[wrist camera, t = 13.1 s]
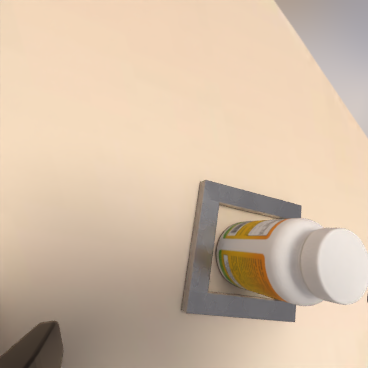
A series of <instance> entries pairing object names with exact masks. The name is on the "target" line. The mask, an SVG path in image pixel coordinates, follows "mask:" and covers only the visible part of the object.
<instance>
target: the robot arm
mask: <svg viewBox="0 0 368 368" xmlns="http://www.w3.org/2000/svg"><path fill="white" fill-rule="evenodd" d="M367 301H368V296H367ZM62 357H63V344H62V339H61V334H60V328H59V324H58V322H57V321H48V322H42V323H39V324H38V325H37V326H35V327H34V328H33V329H32V330H31V331H30V332H29V333H27V334H26V335H25V336H24V337H23V338H22V339H20V340H19V341H18V342H17V343H16V344H15V345H13V346H12V347H11V348H10V349H9V350H8V351H6V352H5V353H4V354H3V355H2V356H1V357H0V368H61V363H62Z"/></svg>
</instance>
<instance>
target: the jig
mask: <svg viewBox="0 0 368 368" xmlns="http://www.w3.org/2000/svg"><path fill="white" fill-rule="evenodd" d="M219 205H223V206H227V207H231V208H235V209H240V210H244V211H248V212H252V213H256V214H261V215H265V216H269V217H273V218H277V219H291V218H301V205H297V204H294V203H290V202H286V201H282V200H279V199H275V198H271V197H267V196H264V195H260V194H256V193H253V192H249V191H245V190H241V189H238V188H234V187H230V186H226V185H223V184H219V183H215V182H212V181H208V180H204V181H202V182H200V187H199V194H198V200H197V207H196V214H195V221H194V227H193V234H192V241H191V247H190V254H189V261H188V268H187V274H186V281H185V288H184V294H183V301H182V308H181V310H183V311H184V312H186V313H192V314H204V315H216V316H228V317H240V318H252V319H264V320H276V321H287V322H295V312H296V305H295V304H291V303H287V302H284V301H281V300H278V299H270V298H261V297H252V296H244V295H235V294H227V293H218V292H209V291H208V287H209V279H210V272H211V264H212V256H213V248H214V241H215V233H216V225H217V217H218V210H219Z"/></svg>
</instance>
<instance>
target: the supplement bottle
mask: <svg viewBox="0 0 368 368" xmlns="http://www.w3.org/2000/svg"><path fill="white" fill-rule="evenodd" d="M216 255H217V263H218V266H219V269H220V271H221V273H222V275H223V276H224V278H225V279H226V280H227V281H229V282H230V283H231V284H233V285H235V286H237V287H240V288H243V289H246V290H249V291H253V292H256V293H259V294H262V295H265V296H268V297H271V298H274V299H278V300H281V301H284V302H287V303H291V304H295V305H299V306H311V305H315V304H318V303H320V302H322V301H323V300H325V301H329V302H333V303H337V304H343V305H348V304H353V303H355V302H357V301H358V300H359V299H360V298H361V297H362V296H363V295H364V293H365V291H366V289H367V287H368V254H367V251H366V248H365V246H364V244H363V243H362V241H361V240H360V238H359V237H358V236H357V235H356V234H355V233H353V232H351V231H350V230H347V229H344V228H324V227H322V226H321V225H320V224H318V223H316V222H315V221H312V220H309V219H304V218H291V219H277V220H262V221H248V222H240V223H236V224H233V225H231V226H230V227H228V228H227V229H226V230H225V231H224V232H223V234H222V235H221V237H220V239H219V242H218V245H217V254H216Z"/></svg>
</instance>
